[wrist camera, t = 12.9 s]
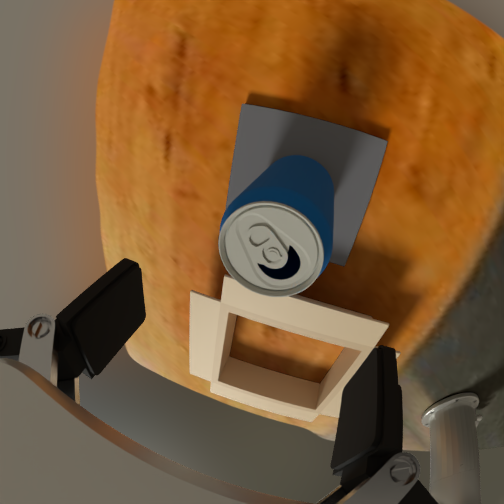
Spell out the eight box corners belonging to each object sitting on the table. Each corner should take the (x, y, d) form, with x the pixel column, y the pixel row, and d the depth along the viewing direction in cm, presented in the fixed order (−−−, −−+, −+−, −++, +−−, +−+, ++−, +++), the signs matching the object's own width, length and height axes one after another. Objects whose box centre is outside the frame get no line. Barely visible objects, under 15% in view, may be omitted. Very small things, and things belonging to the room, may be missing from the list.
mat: (385, 140, 20) (387, 141, 20) (344, 261, 27) (344, 266, 27) (245, 103, 22) (242, 103, 22) (226, 226, 29) (222, 230, 29)
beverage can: (290, 233, 27) (259, 317, 17) (249, 179, 25) (189, 235, 15) (347, 199, 23) (355, 274, 13) (306, 139, 22) (282, 167, 12)
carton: (409, 302, 27) (416, 332, 23) (334, 401, 40) (331, 426, 36) (211, 242, 31) (191, 265, 27) (201, 361, 44) (190, 383, 40)
